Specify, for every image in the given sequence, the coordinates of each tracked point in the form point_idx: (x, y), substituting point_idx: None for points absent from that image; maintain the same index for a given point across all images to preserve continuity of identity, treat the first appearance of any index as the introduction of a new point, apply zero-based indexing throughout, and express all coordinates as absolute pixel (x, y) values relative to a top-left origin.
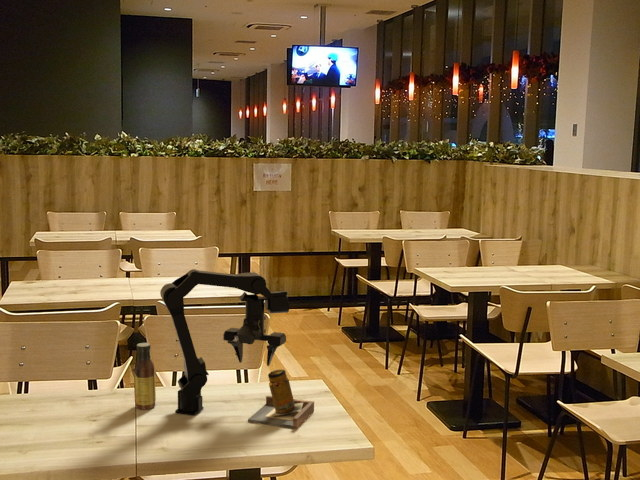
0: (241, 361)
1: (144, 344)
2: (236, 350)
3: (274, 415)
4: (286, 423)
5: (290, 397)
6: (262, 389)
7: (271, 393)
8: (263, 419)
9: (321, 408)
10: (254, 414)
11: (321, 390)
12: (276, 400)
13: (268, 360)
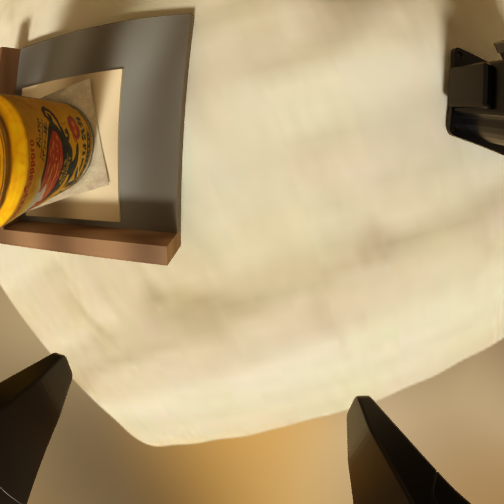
0: (350, 413)
1: None
2: (439, 496)
3: (84, 84)
4: (39, 51)
5: None
6: (263, 387)
7: (45, 112)
8: (123, 39)
9: (17, 260)
10: (179, 75)
11: (93, 393)
12: (38, 98)
13: (18, 380)
